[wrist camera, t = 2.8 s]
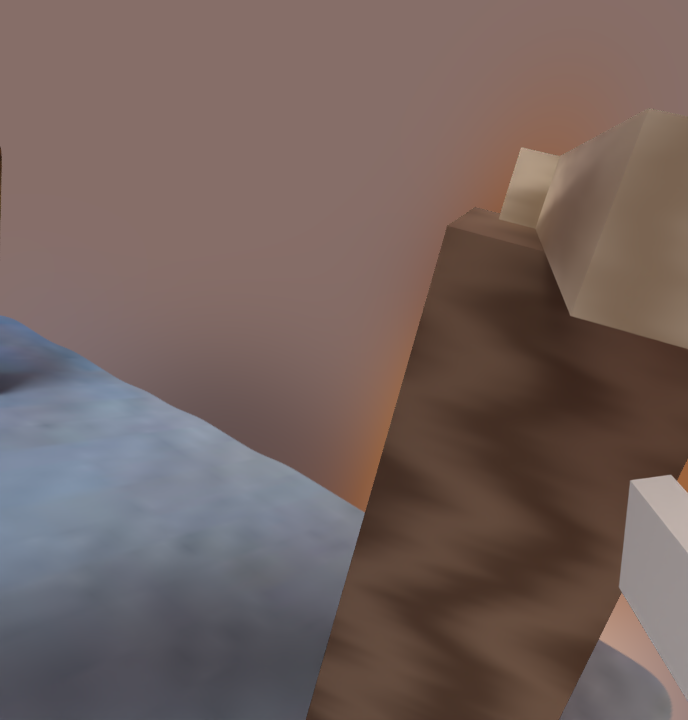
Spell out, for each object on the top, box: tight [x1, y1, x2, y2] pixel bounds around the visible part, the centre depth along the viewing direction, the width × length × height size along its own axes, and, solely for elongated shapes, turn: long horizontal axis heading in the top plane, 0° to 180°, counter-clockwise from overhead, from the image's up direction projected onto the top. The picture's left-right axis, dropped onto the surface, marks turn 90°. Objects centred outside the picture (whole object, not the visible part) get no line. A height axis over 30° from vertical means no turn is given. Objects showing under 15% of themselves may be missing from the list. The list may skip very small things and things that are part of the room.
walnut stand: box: [306, 207, 688, 720], centre depth 31 cm, size 10×15×30 cm, turn 164°
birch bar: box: [499, 108, 688, 349], centre depth 20 cm, size 7×24×3 cm, turn 164°
